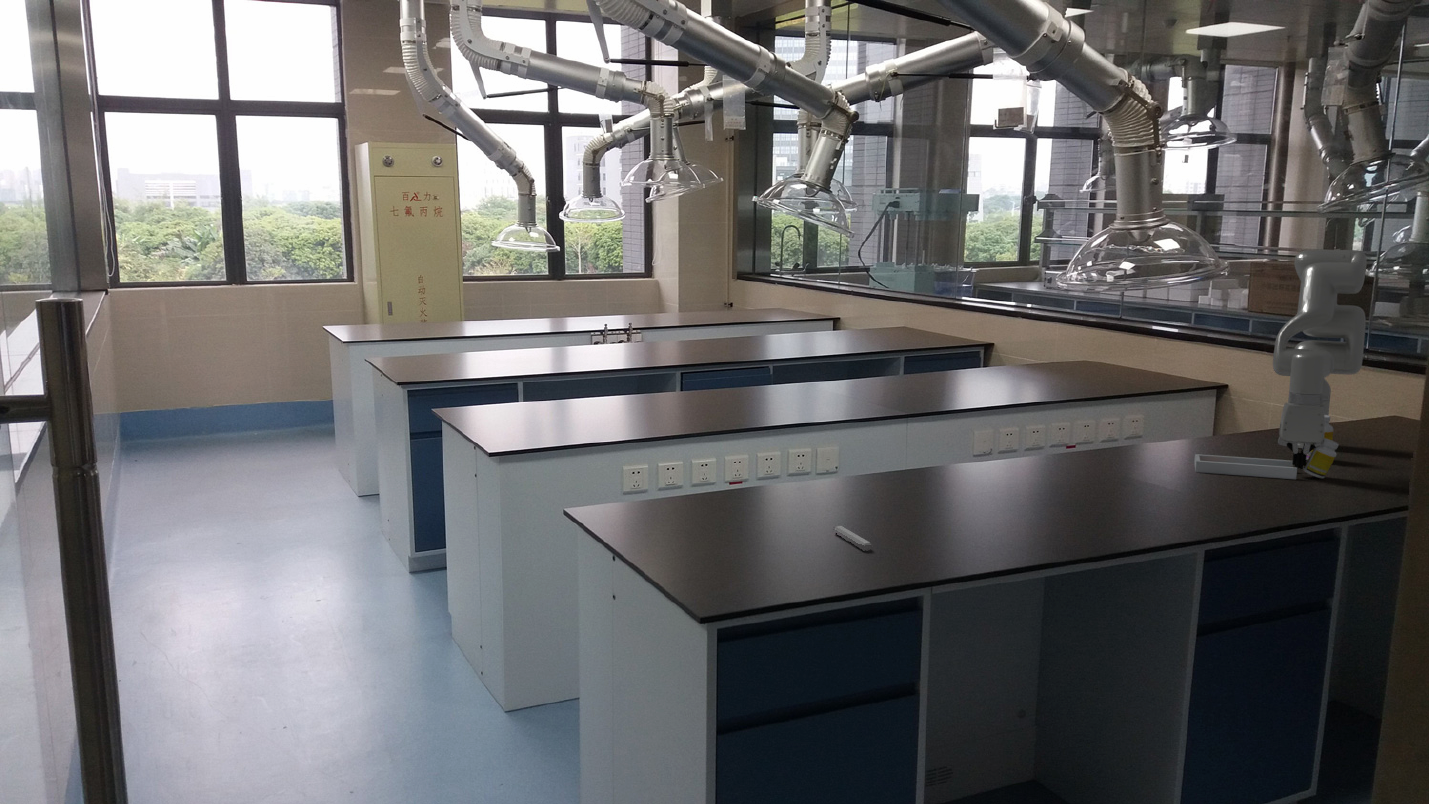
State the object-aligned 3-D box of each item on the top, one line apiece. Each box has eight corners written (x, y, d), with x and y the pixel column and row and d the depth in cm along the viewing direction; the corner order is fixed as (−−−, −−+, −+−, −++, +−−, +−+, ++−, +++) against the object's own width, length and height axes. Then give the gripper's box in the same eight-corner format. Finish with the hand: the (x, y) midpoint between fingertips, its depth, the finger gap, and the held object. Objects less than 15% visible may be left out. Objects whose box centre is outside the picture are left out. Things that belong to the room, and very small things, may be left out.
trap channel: (1194, 464, 287) (1195, 454, 286) (1291, 471, 278) (1292, 460, 277) (1195, 472, 279) (1196, 461, 278) (1296, 479, 269) (1297, 468, 269)
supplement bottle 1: (1331, 459, 290) (1335, 414, 288) (1330, 464, 285) (1334, 418, 283) (1304, 456, 294) (1307, 412, 292) (1302, 461, 288) (1306, 416, 286)
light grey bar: (833, 534, 233) (868, 554, 218) (826, 531, 232) (861, 551, 217) (838, 524, 233) (874, 543, 218) (831, 520, 232) (866, 539, 217)
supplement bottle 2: (1327, 481, 268) (1345, 447, 265) (1308, 475, 268) (1325, 441, 265) (1318, 473, 273) (1335, 440, 270) (1298, 467, 273) (1315, 434, 270)
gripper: (1335, 399, 269) (1329, 467, 272) (1271, 396, 275) (1265, 462, 278) (1339, 403, 263) (1333, 473, 265) (1273, 399, 268) (1268, 468, 271)
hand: (1298, 467), depth 272 cm, fingers closed
